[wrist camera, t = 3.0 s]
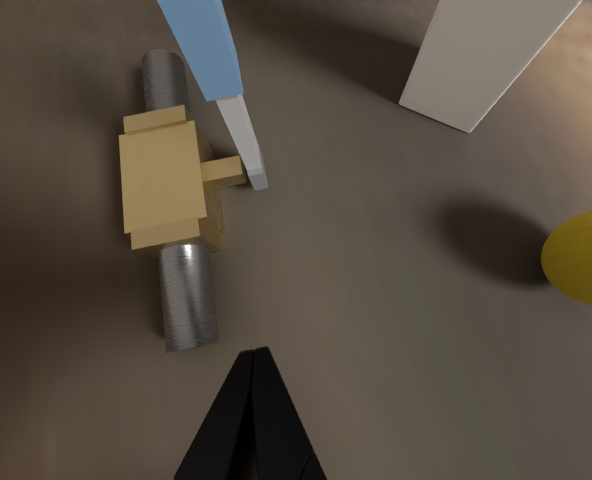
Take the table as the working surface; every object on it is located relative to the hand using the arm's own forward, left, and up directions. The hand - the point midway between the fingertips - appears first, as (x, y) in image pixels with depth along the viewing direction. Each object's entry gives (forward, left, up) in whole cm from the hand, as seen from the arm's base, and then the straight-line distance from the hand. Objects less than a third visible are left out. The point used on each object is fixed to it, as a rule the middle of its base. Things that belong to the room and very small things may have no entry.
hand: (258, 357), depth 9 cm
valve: (+7, +10, -12) cm, 17 cm away
